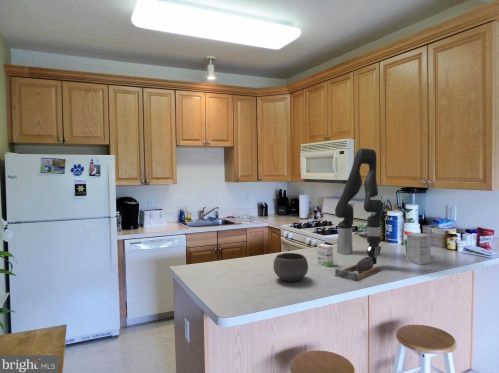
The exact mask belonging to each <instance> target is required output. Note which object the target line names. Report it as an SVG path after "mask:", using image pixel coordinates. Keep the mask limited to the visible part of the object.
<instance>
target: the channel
mask: <svg viewBox="0 0 499 373" xmlns="http://www.w3.org/2000/svg"><path fill="white" fill-rule="evenodd" d="M356 265H357V263H356V264H355V265H351V266H348V267H346V268H343V269H342V268H341V269H340V268H335V272H334V274H335V277H338V278H341V279H342V278H343V279H347V280H350V281H354V282H356V281H358V280H361V279H363V278H366V277H369V276H370V275H373V274H376V273H377V272H379V271H381V266H375V267H372V268H371V269H370V270H368V271H364V272H359V273H357V272H354V271H355V270H356ZM356 271H357V270H356Z"/></svg>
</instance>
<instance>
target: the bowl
mask: <svg viewBox="0 0 499 373" xmlns="http://www.w3.org/2000/svg"><path fill="white" fill-rule="evenodd" d="M308 270H309V263H308V260H307V258H306V256H305V255H303V254H301V253H297V252H296V253H295V252H285V253H280V254H277V255H276V256H275V258H274V260H273V271H274V274H275V275H276V276H277V277H278V278H279V279H281V280H283V281H285V282H297V281H300V280H302V279H303V278H305V277H306V276H307V273H308Z"/></svg>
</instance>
